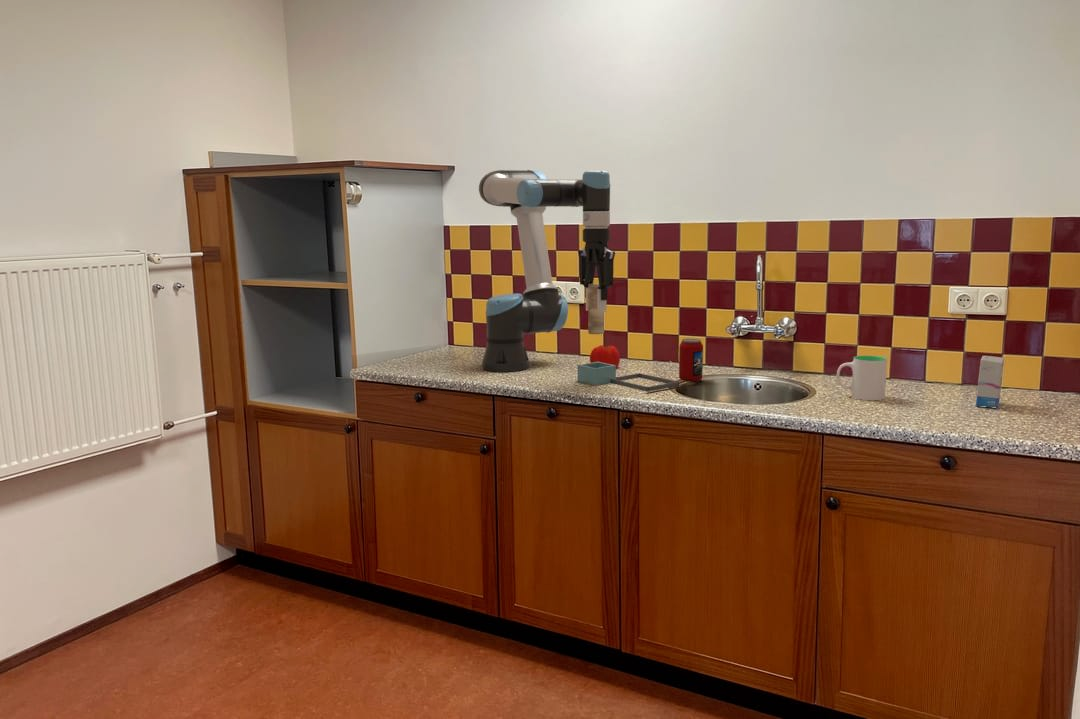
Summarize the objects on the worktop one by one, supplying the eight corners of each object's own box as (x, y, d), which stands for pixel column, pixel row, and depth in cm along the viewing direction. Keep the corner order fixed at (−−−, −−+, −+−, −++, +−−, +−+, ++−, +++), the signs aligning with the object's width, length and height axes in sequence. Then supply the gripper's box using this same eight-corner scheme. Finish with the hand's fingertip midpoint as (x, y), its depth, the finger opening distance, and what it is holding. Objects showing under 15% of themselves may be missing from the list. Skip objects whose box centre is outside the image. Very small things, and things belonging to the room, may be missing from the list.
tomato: (617, 366, 257) (617, 343, 256) (621, 372, 249) (621, 348, 247) (588, 367, 257) (588, 344, 256) (591, 372, 248) (590, 348, 247)
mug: (835, 398, 209) (837, 359, 207) (835, 392, 217) (837, 354, 215) (885, 401, 205) (887, 361, 203) (884, 395, 212) (886, 356, 211)
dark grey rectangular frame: (608, 384, 230) (608, 378, 230) (639, 379, 237) (639, 373, 237) (647, 394, 218) (647, 387, 217) (678, 387, 225) (679, 381, 224)
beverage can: (702, 383, 231) (703, 341, 228) (678, 382, 232) (679, 341, 230) (702, 378, 237) (703, 338, 235) (679, 378, 238) (679, 338, 236)
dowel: (585, 333, 230) (585, 284, 227) (596, 331, 232) (597, 283, 230) (595, 334, 226) (595, 285, 224) (607, 333, 229) (607, 284, 226)
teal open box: (577, 383, 233) (577, 364, 232) (598, 380, 237) (598, 361, 236) (595, 387, 226) (594, 368, 225) (615, 384, 231) (615, 365, 230)
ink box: (998, 409, 195) (1002, 361, 193) (975, 407, 198) (979, 359, 196) (1000, 402, 202) (1004, 356, 200) (977, 400, 205) (981, 354, 203)
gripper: (566, 227, 229) (566, 309, 233) (606, 228, 215) (606, 315, 219) (586, 227, 233) (586, 307, 237) (627, 227, 219) (626, 312, 223)
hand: (596, 310), depth 228 cm, fingers closed on dowel, 4 cm apart
